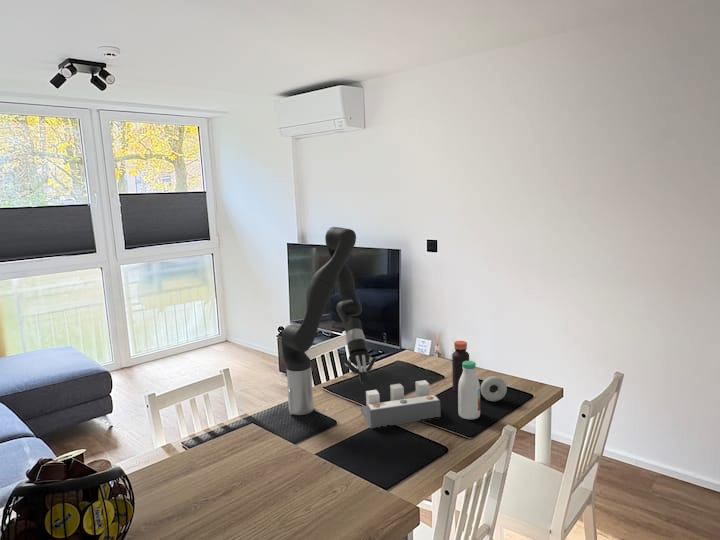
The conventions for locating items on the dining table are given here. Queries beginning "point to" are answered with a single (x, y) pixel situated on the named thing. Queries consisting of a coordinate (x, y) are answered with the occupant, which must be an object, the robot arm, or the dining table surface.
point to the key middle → (396, 392)
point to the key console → (401, 411)
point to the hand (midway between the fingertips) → (364, 382)
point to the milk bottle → (469, 392)
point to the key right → (422, 388)
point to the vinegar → (458, 361)
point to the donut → (488, 383)
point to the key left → (372, 397)
